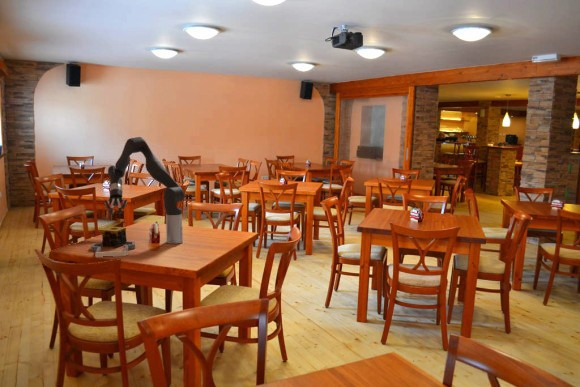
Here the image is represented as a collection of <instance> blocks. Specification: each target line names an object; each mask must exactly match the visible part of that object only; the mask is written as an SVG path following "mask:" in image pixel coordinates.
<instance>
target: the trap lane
mask: <svg viewBox="0 0 580 387" xmlns="http://www.w3.org/2000/svg"><path fill="white" fill-rule="evenodd" d="M124 246H125V247H124V250H111V251H110V250H109V251H102V249H103V246H102V242H95V243H92V244H91V247H90V250H91V252H95V258H104V257H103V256H113V257H127V256H126V255H128V254H129V250H135V249H136V241H135V240H134V241H133V240H131V241H130V240H127V241H126V244H125V245H124Z"/></svg>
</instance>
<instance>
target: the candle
mask: <svg viewBox="0 0 580 387" xmlns="http://www.w3.org/2000/svg"><path fill="white" fill-rule="evenodd" d="M126 230H127V227H123V226H122V227H121V226H110V227H107V228H103V229H102V230H101V233H102V234H101V237H102V238H101V239H102V240H101V243H102V248H103V247H104V248H114V249H115V248H117V249H118V248H121V247H123V246H125V245H126V241H128V239H127V231H126Z"/></svg>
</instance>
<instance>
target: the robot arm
mask: <svg viewBox="0 0 580 387" xmlns="http://www.w3.org/2000/svg"><path fill="white" fill-rule="evenodd" d="M121 152H122V153H121V154H120V156H119V158H118V159H117V161H116V162H115V165H110V166H109V167H108V169H107V174H108V177H109V181H110V187H109V199H108V200H107V199H105V200H104V204H105V206H106V209H107V210H110V212H109V213H110V215H111V216H113V215H114V207H115V206H117V207H118V215H119V216H120V215H121V214H122V210H125V208H126V206H127V203H128V200H127V199H123V177H125V174H126V170H127V168H128V167H129V165H130V163H131V155H133V154H136V153H141V154H142V155H143V156H144V158H145V169H146V171H147V172H148V174H149V176H150V177H151V178H152V179H153V180H155V181H157V182H158V183H160V184H161V185H163V186H164V187H165V188H166V189H165V190H164V192H163V206H164V211H165V225H166V226H165V227H166V228H165V229H166V238H165V239H166V244H167V243H168V244H171V245H174V244H177V245H178V244H181V243H183V240H184V239H183V210H182V208H180V207H178V206H177V203H179V202H182V201H184V200H185V198H186V194H185V191H184V190H183V188H182V187H181V186H180V184H178V183H177V181H175V179H174V178H173V176H171V175H170V173H169V172H168V171H167V170H166V168H165V167H164V165H163V164H162V162H161V161H160V160H159V159H158V157H157V156H156V155H155V154H154V152H153V150H152V149H151V148H150V146H149V144H148V143H147V141H146V140H145V138H143V137H142V136H137V137H131V138H129V139H127V140H126V142H125V143H124V146H123V148H122V151H121ZM121 204H122V205H121Z"/></svg>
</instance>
